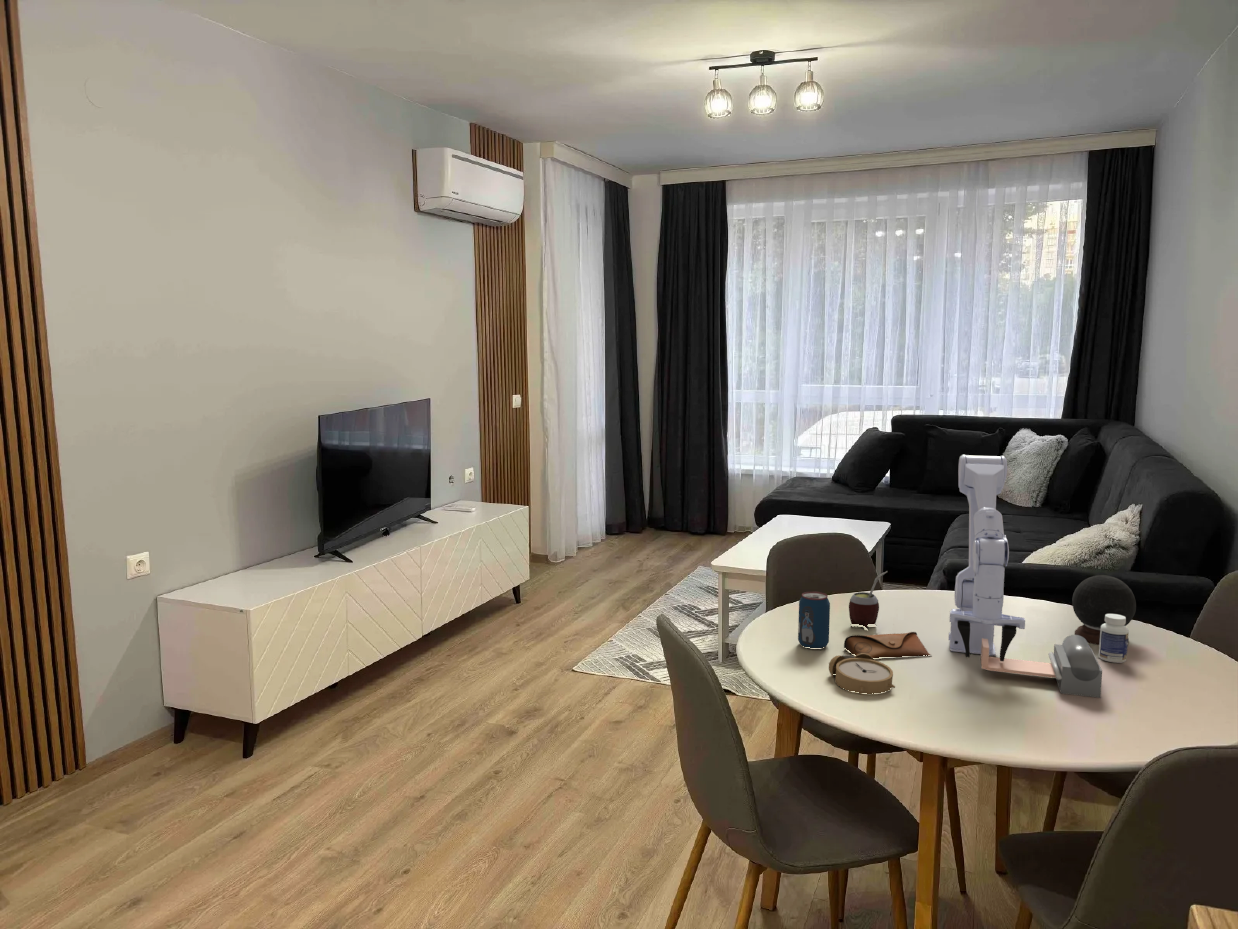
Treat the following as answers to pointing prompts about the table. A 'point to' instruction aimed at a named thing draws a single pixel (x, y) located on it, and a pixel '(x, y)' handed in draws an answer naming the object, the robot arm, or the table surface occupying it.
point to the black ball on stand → (1101, 604)
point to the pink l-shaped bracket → (1014, 664)
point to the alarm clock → (861, 673)
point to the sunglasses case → (886, 645)
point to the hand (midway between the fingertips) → (984, 657)
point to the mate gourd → (864, 606)
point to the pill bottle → (1113, 639)
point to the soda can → (814, 620)
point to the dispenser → (1076, 667)
